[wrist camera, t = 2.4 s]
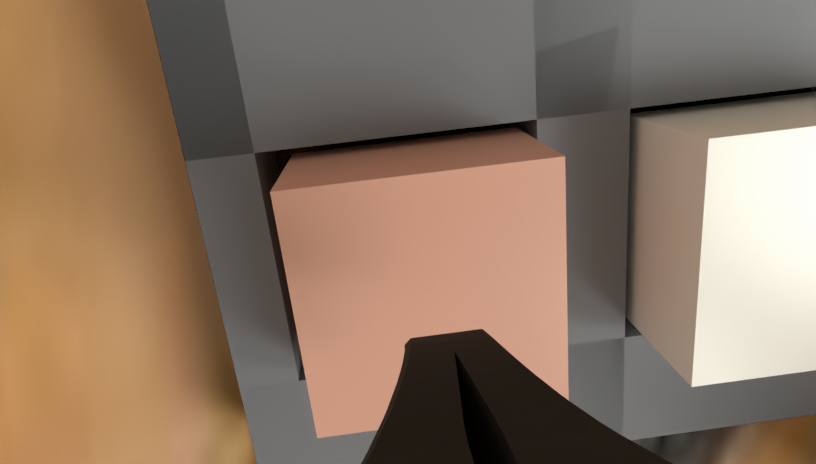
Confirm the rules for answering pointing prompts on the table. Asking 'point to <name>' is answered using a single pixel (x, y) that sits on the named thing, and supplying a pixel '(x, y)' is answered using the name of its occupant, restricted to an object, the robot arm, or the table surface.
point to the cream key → (725, 237)
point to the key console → (455, 109)
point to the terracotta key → (421, 260)
